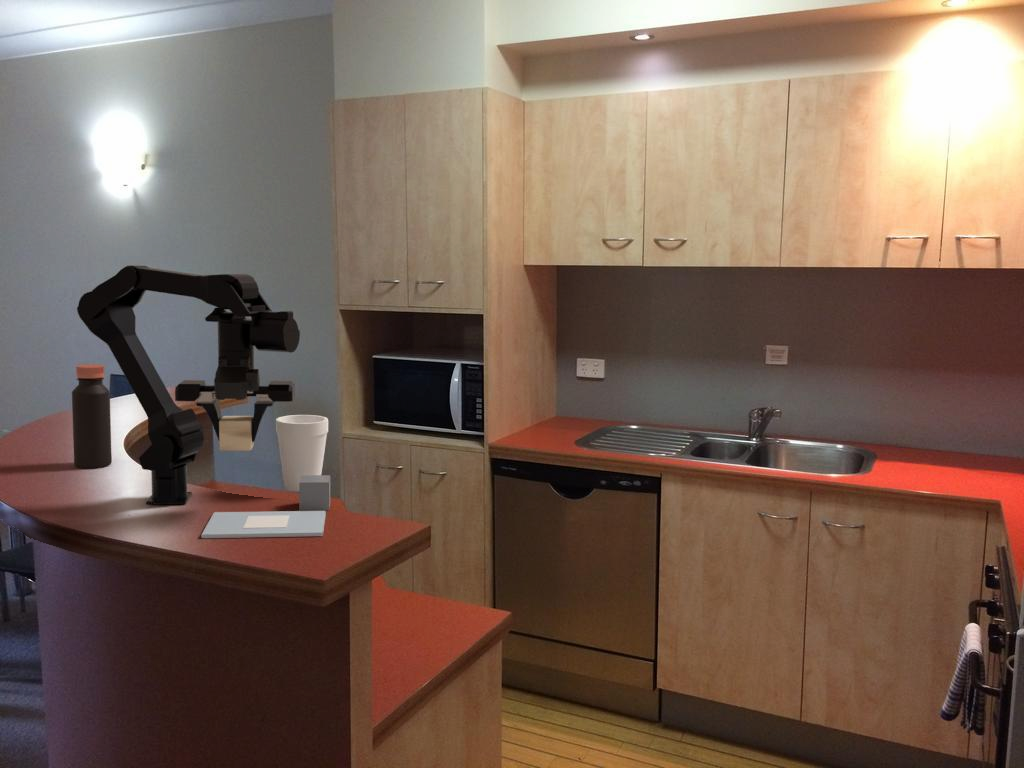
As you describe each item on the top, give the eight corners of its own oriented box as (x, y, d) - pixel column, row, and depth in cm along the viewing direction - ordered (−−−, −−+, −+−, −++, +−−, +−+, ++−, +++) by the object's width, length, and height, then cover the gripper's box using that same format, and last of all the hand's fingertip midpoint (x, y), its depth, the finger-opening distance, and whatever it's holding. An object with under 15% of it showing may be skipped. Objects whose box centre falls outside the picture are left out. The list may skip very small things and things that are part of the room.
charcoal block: (301, 503, 155) (301, 475, 155) (330, 502, 156) (330, 475, 156) (299, 511, 151) (299, 482, 150) (329, 510, 151) (329, 482, 151)
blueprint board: (214, 515, 146) (214, 511, 146) (325, 514, 149) (325, 510, 149) (201, 538, 134) (201, 533, 134) (322, 536, 137) (322, 531, 137)
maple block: (224, 444, 152) (223, 415, 151) (254, 444, 153) (253, 415, 152) (219, 450, 147) (219, 421, 146) (250, 450, 148) (250, 421, 147)
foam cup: (337, 488, 166) (338, 420, 164) (295, 496, 159) (296, 425, 157) (307, 478, 172) (308, 413, 170) (266, 486, 165) (266, 418, 163)
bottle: (97, 470, 173) (94, 368, 170) (66, 467, 174) (63, 366, 172) (118, 462, 180) (116, 365, 177) (89, 460, 181) (86, 363, 178)
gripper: (166, 354, 138) (169, 451, 140) (289, 355, 141) (290, 451, 143) (181, 347, 149) (182, 438, 151) (294, 348, 152) (295, 437, 154)
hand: (237, 441), depth 150 cm, fingers closed on maple block, 5 cm apart
